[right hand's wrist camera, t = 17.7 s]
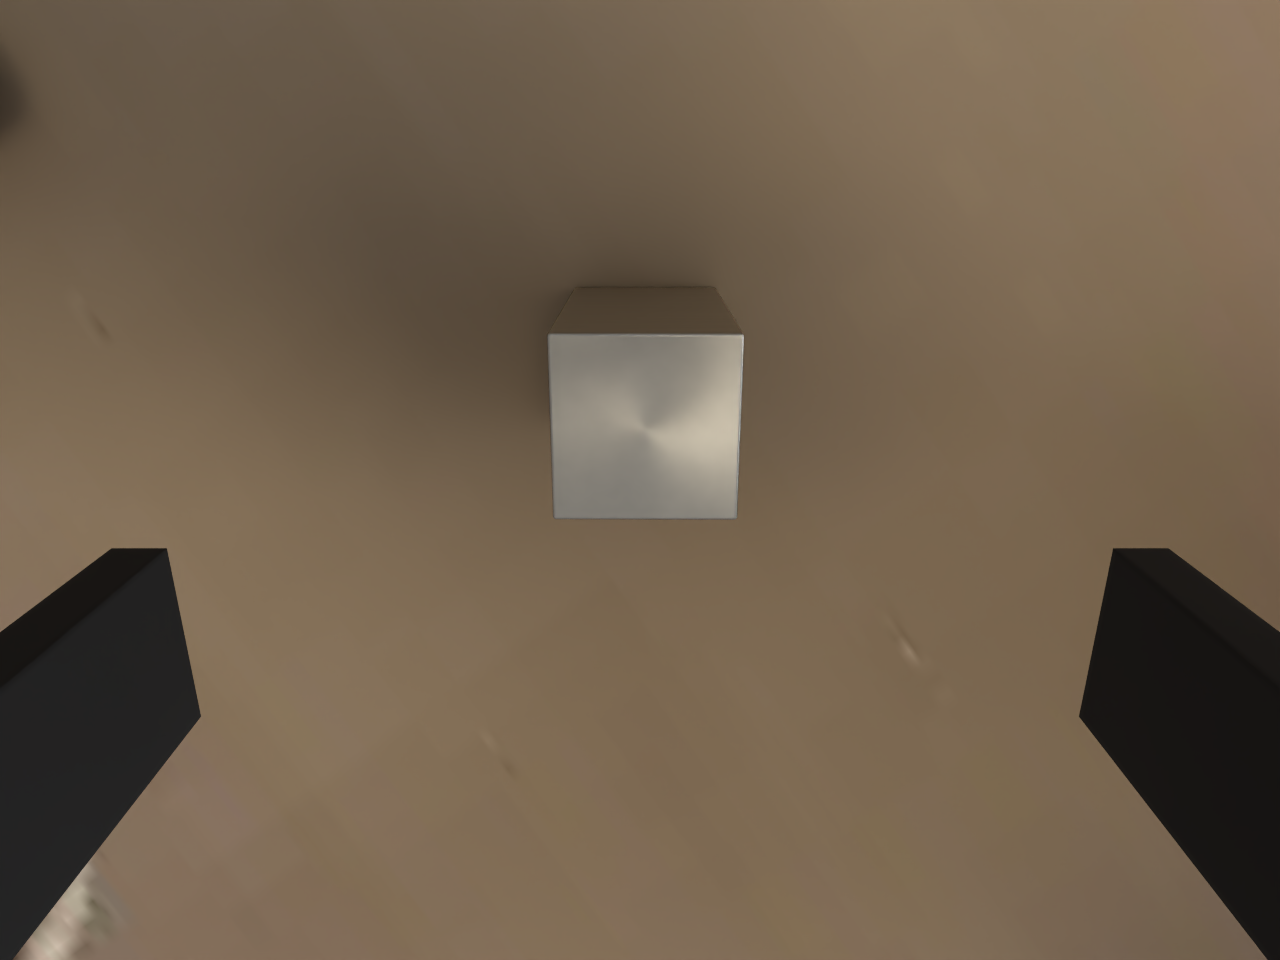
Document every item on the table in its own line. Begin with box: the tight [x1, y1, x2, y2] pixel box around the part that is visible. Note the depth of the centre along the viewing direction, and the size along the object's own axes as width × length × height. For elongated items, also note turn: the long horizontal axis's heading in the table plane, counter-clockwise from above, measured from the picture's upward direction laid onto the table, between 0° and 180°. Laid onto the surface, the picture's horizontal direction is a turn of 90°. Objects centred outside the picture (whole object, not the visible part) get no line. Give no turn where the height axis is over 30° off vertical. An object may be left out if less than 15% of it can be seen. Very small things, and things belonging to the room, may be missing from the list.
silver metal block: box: [547, 287, 744, 519], centre depth 29 cm, size 5×5×10 cm
